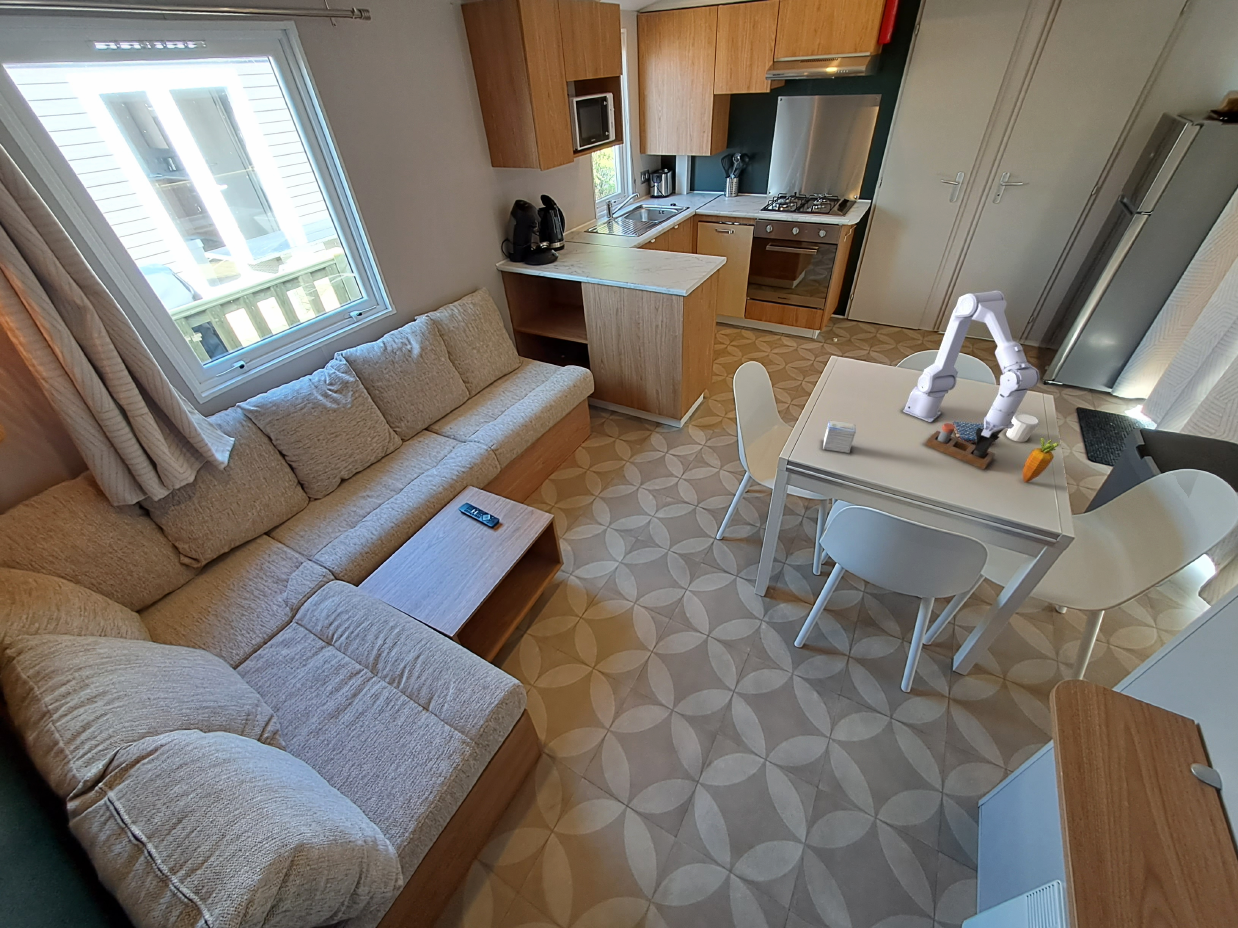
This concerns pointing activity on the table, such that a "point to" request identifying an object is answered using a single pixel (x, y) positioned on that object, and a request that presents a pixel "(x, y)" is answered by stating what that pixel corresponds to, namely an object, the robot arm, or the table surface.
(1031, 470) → the carrot
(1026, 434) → the white cylinder
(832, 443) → the medicine box
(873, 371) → the table surface
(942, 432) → the grey marker
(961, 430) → the woven mat
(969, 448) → the marker stand
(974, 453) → the cylinder
